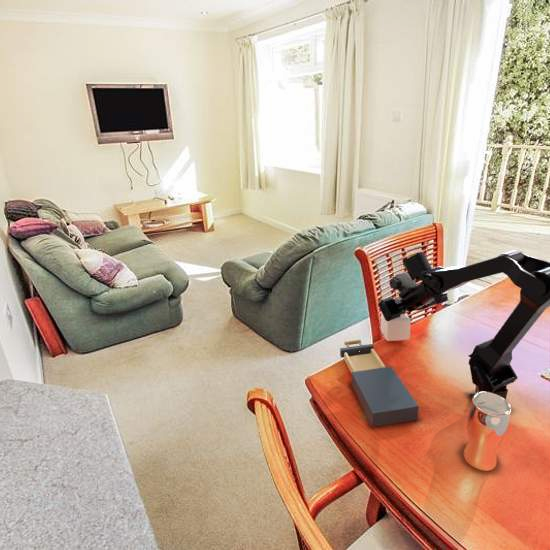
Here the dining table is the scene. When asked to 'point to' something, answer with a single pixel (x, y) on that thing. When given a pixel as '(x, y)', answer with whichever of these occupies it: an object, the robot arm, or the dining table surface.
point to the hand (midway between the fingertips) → (393, 312)
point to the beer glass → (486, 429)
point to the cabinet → (384, 396)
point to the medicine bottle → (396, 327)
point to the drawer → (360, 356)
